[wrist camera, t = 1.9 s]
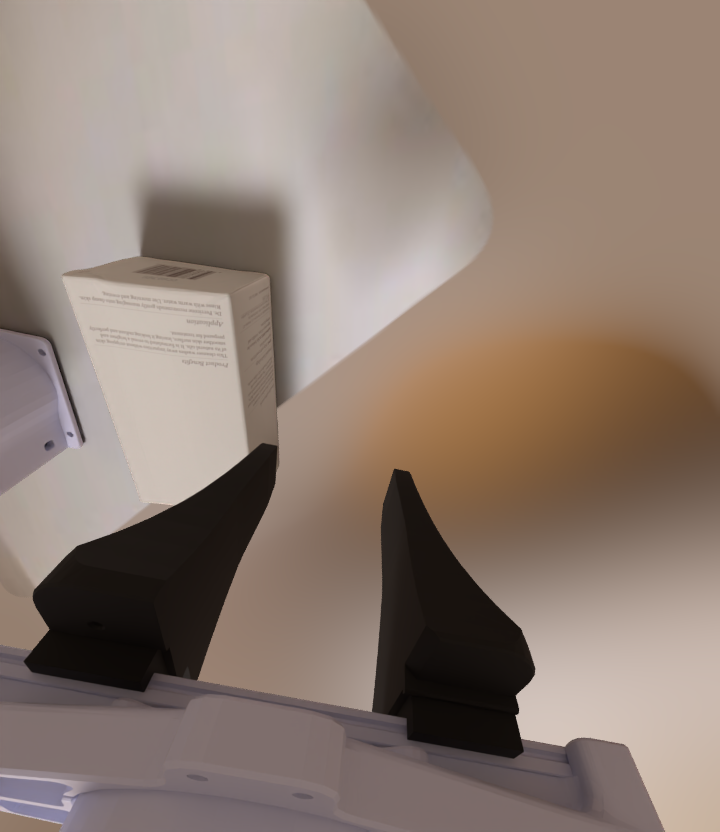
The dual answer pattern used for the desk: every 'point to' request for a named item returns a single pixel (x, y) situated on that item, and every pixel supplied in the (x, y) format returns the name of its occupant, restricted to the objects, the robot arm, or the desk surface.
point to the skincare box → (180, 367)
